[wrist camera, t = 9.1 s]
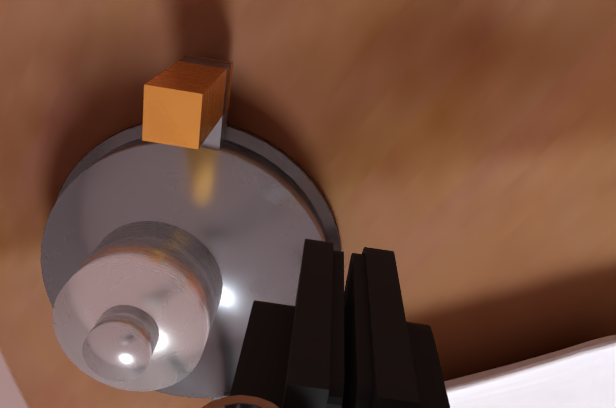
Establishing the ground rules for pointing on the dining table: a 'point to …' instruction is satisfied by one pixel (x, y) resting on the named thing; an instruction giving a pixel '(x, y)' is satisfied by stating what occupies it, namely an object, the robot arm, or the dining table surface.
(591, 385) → the salad plate
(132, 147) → the turntable
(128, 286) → the cover
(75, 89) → the dining table surface
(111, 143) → the turntable base
